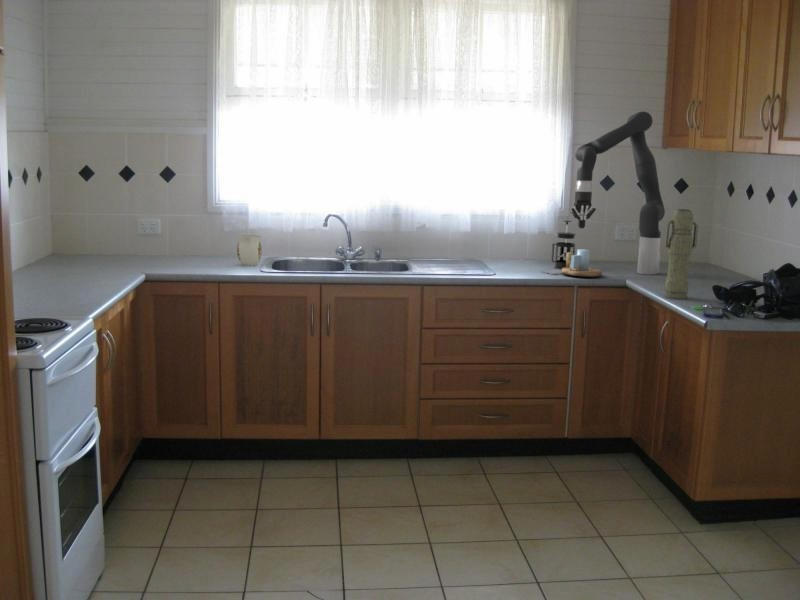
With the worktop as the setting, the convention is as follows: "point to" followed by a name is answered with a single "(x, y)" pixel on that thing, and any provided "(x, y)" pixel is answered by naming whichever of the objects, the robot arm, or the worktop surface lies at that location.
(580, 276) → the turntable base
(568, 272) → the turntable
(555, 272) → the slate mat
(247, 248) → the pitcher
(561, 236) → the french press
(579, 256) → the pale blue carafe
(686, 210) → the thermos
